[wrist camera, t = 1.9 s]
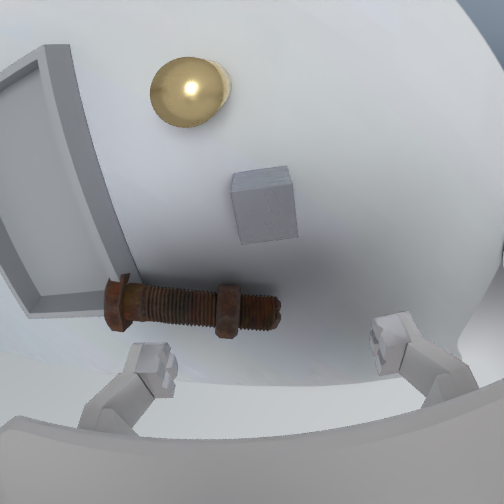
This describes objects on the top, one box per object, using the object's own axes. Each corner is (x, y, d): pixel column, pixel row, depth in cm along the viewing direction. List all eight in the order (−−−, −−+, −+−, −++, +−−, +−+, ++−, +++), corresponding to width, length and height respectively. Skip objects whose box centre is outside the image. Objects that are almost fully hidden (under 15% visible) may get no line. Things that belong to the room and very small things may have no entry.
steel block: (286, 165, 23) (292, 183, 20) (291, 212, 26) (298, 237, 22) (234, 172, 24) (230, 192, 20) (242, 218, 26) (241, 244, 23)
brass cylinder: (226, 55, 19) (216, 49, 14) (235, 107, 21) (229, 120, 16) (170, 67, 19) (143, 67, 14) (181, 117, 21) (158, 134, 16)
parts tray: (69, 44, 17) (43, 44, 14) (145, 288, 30) (135, 313, 27) (-35, 110, 19) (-59, 119, 16) (41, 298, 31) (28, 318, 28)
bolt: (273, 292, 32) (124, 280, 30) (284, 272, 27) (111, 258, 26) (272, 350, 29) (115, 336, 28) (284, 340, 24) (98, 322, 23)
